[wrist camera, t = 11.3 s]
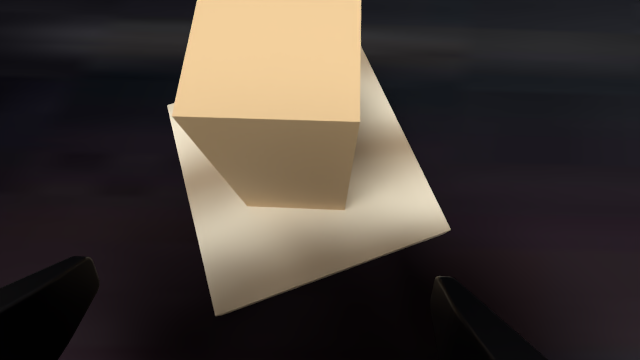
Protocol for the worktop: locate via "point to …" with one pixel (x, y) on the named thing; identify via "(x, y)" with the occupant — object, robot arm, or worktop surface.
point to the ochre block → (275, 97)
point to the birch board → (311, 214)
